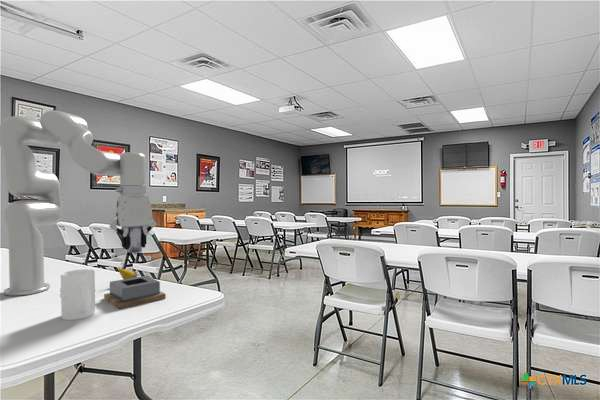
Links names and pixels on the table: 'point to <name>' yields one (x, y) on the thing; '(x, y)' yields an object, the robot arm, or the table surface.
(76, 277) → the mug
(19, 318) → the table surface
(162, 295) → the dock board
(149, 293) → the socket block
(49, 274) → the table surface
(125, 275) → the drill bit
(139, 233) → the steel peg
